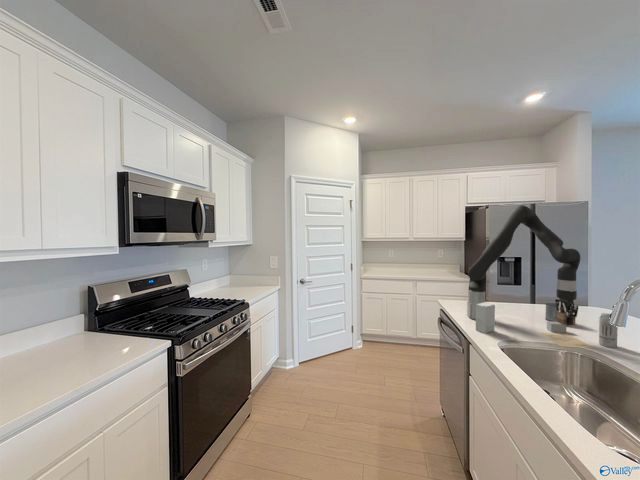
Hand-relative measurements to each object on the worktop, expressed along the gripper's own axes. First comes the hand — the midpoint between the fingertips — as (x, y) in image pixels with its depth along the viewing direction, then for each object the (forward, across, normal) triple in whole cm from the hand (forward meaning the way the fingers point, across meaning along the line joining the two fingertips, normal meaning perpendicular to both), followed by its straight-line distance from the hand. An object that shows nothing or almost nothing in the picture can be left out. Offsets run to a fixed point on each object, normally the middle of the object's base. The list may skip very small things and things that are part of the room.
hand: (565, 322), depth 139 cm
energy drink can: (+9, +4, +15) cm, 18 cm away
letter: (+9, 0, 0) cm, 9 cm away
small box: (+9, -31, +13) cm, 35 cm away
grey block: (+9, -13, +3) cm, 16 cm away
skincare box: (+9, -7, -34) cm, 36 cm away
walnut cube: (0, 0, 0) cm, 0 cm away
